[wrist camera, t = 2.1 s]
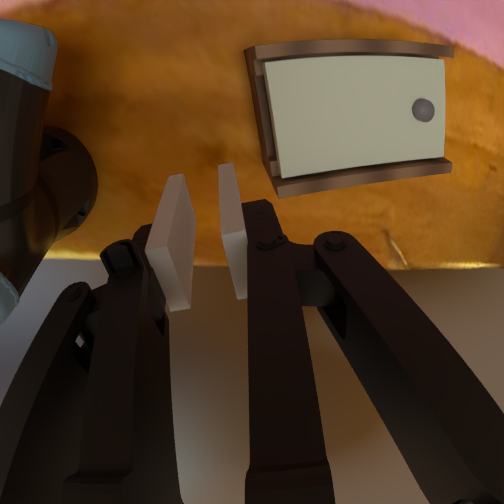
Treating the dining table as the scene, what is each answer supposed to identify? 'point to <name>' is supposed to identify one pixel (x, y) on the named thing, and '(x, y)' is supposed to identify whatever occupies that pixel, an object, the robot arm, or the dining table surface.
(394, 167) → the box
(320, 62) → the lid
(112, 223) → the dining table surface
